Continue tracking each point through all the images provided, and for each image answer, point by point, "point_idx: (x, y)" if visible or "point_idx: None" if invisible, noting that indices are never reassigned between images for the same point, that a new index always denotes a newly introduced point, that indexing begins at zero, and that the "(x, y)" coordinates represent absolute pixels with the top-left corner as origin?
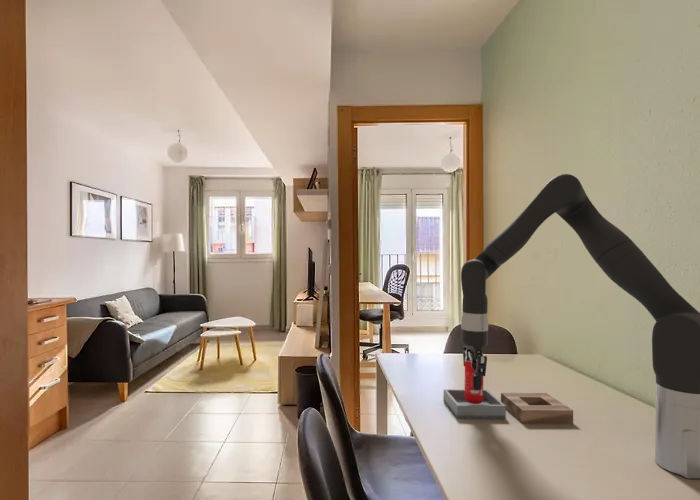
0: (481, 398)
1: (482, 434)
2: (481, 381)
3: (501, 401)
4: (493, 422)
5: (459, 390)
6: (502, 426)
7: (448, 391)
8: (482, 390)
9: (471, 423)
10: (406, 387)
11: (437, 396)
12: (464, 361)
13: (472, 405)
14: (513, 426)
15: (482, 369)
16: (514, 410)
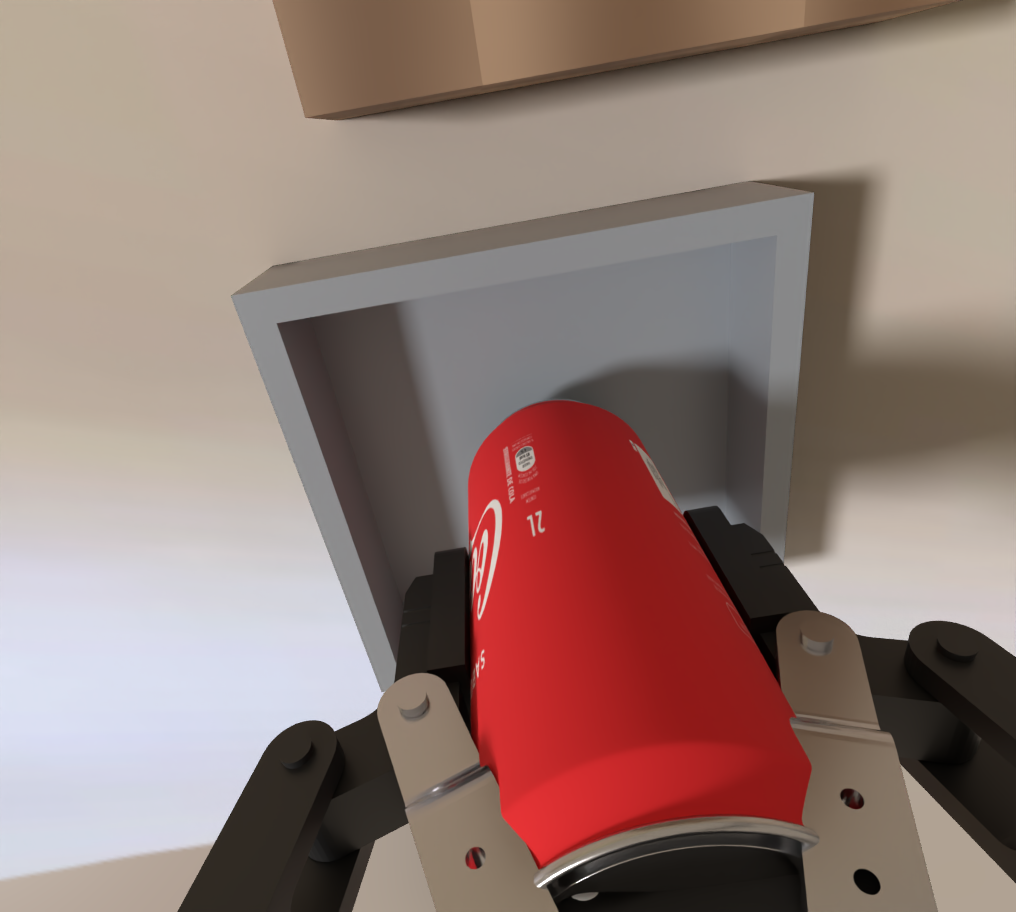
0: (632, 432)
1: (1013, 441)
2: (754, 564)
3: (348, 116)
4: (824, 320)
5: (369, 581)
6: (913, 261)
7: (395, 652)
8: (640, 462)
9: (826, 483)
10: (177, 804)
11: (301, 648)
12: (345, 897)
13: (780, 523)
14: (930, 153)
15: (762, 677)
16: (715, 48)
